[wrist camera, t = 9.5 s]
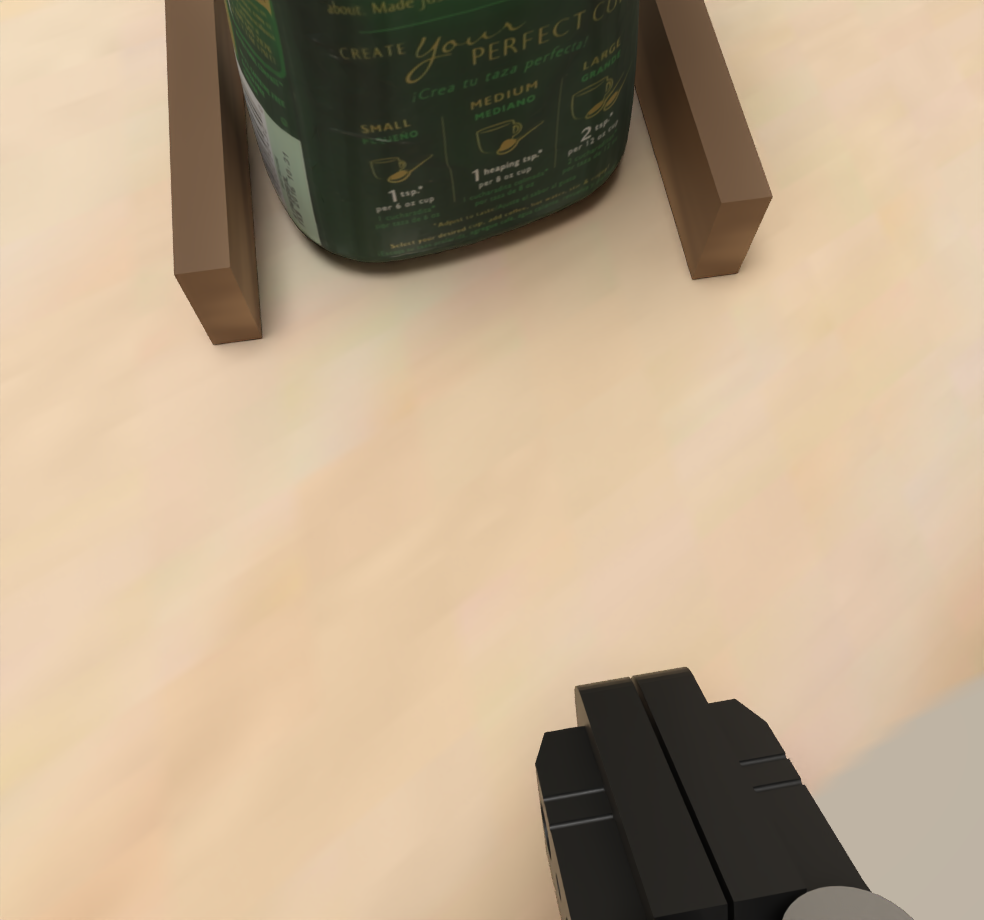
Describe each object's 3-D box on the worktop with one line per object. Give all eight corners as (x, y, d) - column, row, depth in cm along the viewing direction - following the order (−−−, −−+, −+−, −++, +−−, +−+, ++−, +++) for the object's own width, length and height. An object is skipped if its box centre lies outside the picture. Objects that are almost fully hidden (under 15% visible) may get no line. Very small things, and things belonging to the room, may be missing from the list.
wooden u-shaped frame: (625, -78, 28) (640, -178, 25) (737, 273, 23) (772, 196, 20) (193, -32, 27) (160, -130, 24) (213, 344, 22) (174, 274, 19)
